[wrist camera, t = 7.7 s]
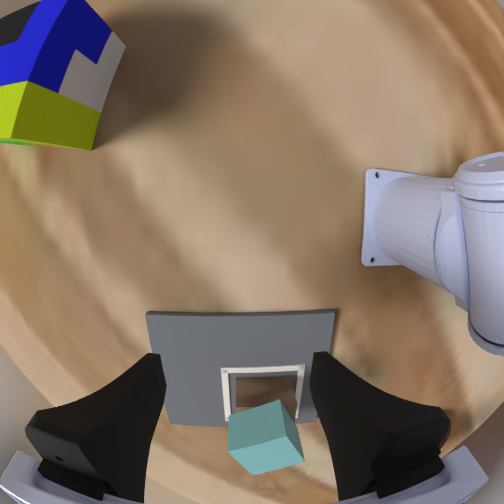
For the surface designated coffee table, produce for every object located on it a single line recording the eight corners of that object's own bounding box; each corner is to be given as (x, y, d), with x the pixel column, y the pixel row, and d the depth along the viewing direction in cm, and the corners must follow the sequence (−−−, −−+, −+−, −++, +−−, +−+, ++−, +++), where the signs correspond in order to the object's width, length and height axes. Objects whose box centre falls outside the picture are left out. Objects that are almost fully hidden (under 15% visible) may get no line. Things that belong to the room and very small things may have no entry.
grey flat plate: (332, 309, 23) (335, 313, 22) (314, 417, 26) (315, 422, 25) (147, 311, 22) (144, 315, 21) (171, 419, 25) (170, 424, 25)
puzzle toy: (126, 46, 17) (74, -11, 7) (91, 150, 19) (10, 138, 9) (49, 54, 16) (-8, 23, 6) (20, 144, 18) (-51, 140, 8)
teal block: (279, 399, 19) (286, 435, 15) (297, 427, 20) (304, 461, 16) (228, 415, 20) (227, 451, 16) (250, 441, 21) (252, 475, 17)
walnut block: (290, 375, 23) (297, 404, 20) (286, 410, 25) (291, 438, 21) (235, 377, 23) (235, 407, 19) (237, 412, 24) (237, 441, 21)
